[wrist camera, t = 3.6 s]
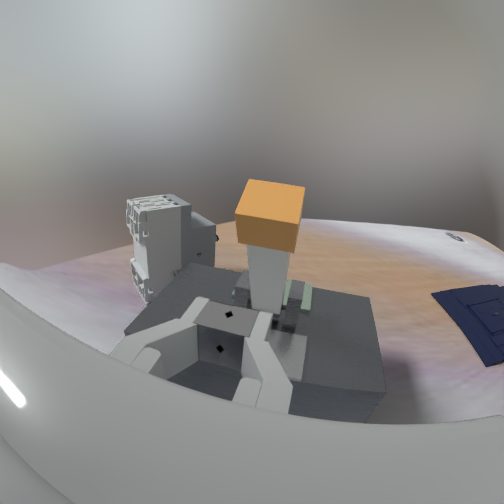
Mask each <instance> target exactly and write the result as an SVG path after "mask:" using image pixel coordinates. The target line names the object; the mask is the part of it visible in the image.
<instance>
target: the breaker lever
mask: <svg viewBox="0 0 504 504" xmlns="http://www.w3.org/2000/svg"><path fill="white" fill-rule="evenodd" d="M304 193H305V188H304V187H299V186H293V185H287V184H281V183H274V182H267V181H260V180H253V179H249V181H248V183H247V185H246V188H245V190H244V192H243V195H242V197H241V199H240V202H239V204H238V207H237V209H236V212H235V221H236V229H237V237H238V243H242V244H247V256H248V268H249V279H250V291H251V303H252V310H256V311H263V312H269V313H273V317H275V318H280V314H281V310H282V305H283V300H284V294H285V288H286V281H287V274H288V267H289V260H290V253H294V251H295V246H296V241H297V236H298V231H299V226H300V221H301V214H302V207H303V201H304Z"/></svg>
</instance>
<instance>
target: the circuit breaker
mask: <svg viewBox="0 0 504 504" xmlns="http://www.w3.org/2000/svg"><path fill="white" fill-rule="evenodd" d="M175 203H176V204H175ZM191 207H192V205H190V204H189V203H187V202H185V201H183V200H181V199H180V198H178V197H176V196H174V195H172V194H166V195H158V196H150V197H143V198H135V199H133V200H127V209H126V216H127V226H128V227H129V228H130V233H131V235H132V236H133V241H134V252H135V258H132V259H130V262H131V270H132V276H133V283H134V285H135V286H136V288H137V290H138V292H139V293H140V295H141V297H142V298H143V300H144V302H145V303H146V305H148V304H149V303H150V302H152V300H153V299H154V298H155V297H156V296H157V295H158V294H159V293H160V292H161V291H162V290H163V289H164V288H165V287H166V286H167V285H168V284H169V283H170V282H171V281H172V280H173V279H174V278H175V277H176V276H177V275H178V274H179V273H180V272H181V271H182V270H183V269H184V268H185V267H186V266H187V265H188V264H189V263H190V262H192V263H197V264H201V265H206V266H211V267H214V263H215V242H216V241H218V240H219V238H218V236H217V235H216V224H214V223H212V222H210V221H209V220H207V219H205V218H204V217H202V216H200V215H199V214H197V213H195V212H191V211H192V209H191ZM135 270H136V272H135Z"/></svg>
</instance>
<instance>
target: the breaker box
mask: <svg viewBox="0 0 504 504" xmlns="http://www.w3.org/2000/svg"><path fill="white" fill-rule="evenodd" d="M199 296H200V297H203V298H207V299H210V300H215V301H219V302H223V303H227V304H230V305H234V306H238V307H242V308H247V309H251V310H252V303H251V291H250V279H249V271H247V270H244V271H243V273H239V272H234V271H229V270H225V269H220V268H215V267H211V266H206V265H201V264H197V263H192V262H190V263H189V264H188V265H187V266H186V267H185V268H184V269H183V270H182V271H181V272H180V273H179V274H178V275H177V276H176V277H175V278H174V279H173V280H172V281H171V282H170V283H169V284H168V285H167V286H166V287H165V288H164V289H163V290H162V291H161V292H160V293H159V294H158V295H157V296H156V297H155V298H154V299H153V300H152V302H151V303H150V304H149V305H148V306H147V307H146V308H145V309H144V310H143V311H142V312H141V313H140V314H139V315H138V316H137V317H136V318H135V319H134V321H133V322H132V323H131V324H130V325H129V326H128V327H127V328H126V329H125V330H124V333H125V336H128V335H131V334H134V333H137V332H140V331H143V330H146V329H148V328H151V327H154V326H157V325H160V324H162V323H165V322H168V321H171V320H173V319H176V318H177V319H180V318H181V317H182V316H183V314H184V313H185V312H186V310H187V309H188V308H189V307H190V305H191V304H192V303H193V301H194V300H195V299H196V298H197V297H199ZM268 342H269V344H270V346H271V347H272V349H273V351H274V353H275V355H276V357H277V359H278V360H279V362H280V364H281V366H282V368H283V370H284V371H285V373H286V375H287V377H288V379H289V380H290V382H291V384H292V386H293V389H292V395H291V400H290V405H289V410H288V414H291V415H297V416H303V417H309V418H316V419H324V420H332V421H342V422H353V423H364V421H365V420H366V419H367V418H368V416H369V415H370V414H371V413H372V411H373V410H374V409H375V407H376V406H377V405H378V403H379V402H380V401H381V399H382V398H383V396H384V395H385V394H386V387H385V380H384V373H383V366H382V360H381V354H380V348H379V343H378V337H377V332H376V327H375V322H374V317H373V313H372V308H371V304H370V299H369V298H368V297H363V296H357V295H352V294H346V293H341V292H335V291H330V290H324V289H319V288H314V287H312V285H310V284H305V282H302V281H297V280H292V281H290V280H287V281H286V288H285V294H284V300H283V305H282V310H281V314H280V318H275V317H273V319H272V325H271V330H270V335H269V340H268ZM241 379H242V374H241V371H238V370H234V369H231V368H228V367H224V366H221V365H217V364H213V363H210V362H206V361H202V360H198V361H197V362H195V363H194V364H192V365H191V366H189V367H187V368H186V369H184V370H182V371H181V372H179V373H177V374H175V375H174V376H172V377H170V378H169V379H167V381H170V382H172V383H175V384H178V385H181V386H184V387H187V388H190V389H193V390H196V391H199V392H202V393H205V394H208V395H211V396H215V397H218V398H222V399H225V400H229V401H232V400H233V397H234V395H235V392H236V390H237V387H238V385H239V382H240V380H241Z"/></svg>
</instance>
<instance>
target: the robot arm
mask: <svg viewBox="0 0 504 504" xmlns="http://www.w3.org/2000/svg"><path fill="white" fill-rule="evenodd" d="M272 319H273V313H269V312H263V311H256V310H251V309H247V308H242V307H238V306H234V305H230V304H227V303H223V302H219V301H215V300H210V299H207V298H203V297H200V296H199V297H197V298H196V299H195V300H194V301H193V303H192V304H191V305H190V307H189V308H188V309H187V310H186V312H185V313H184V314H183V316H182V317H181V318H180V319H177V318H176V319H173V320H171V321H168V322H165V323H162V324H160V325H157V326H154V327H151V328H148V329H146V330H143V331H140V332H137V333H134V334H131V335H128V336H125V337H124V338H123V340H122V341H121V342H120V343H119V344H118V345H117V346H116V347H115V348H114V350H113V351H112V352H111V353H110V354H109V355H107V354H105V353H103V352H101V351H99V350H97V349H95V348H93V347H91V346H89V345H87V344H85V343H84V342H82V341H80V340H78V339H76V338H75V337H73V336H71V335H69V334H68V333H66V332H64V331H62V330H61V329H59V328H57V327H56V326H54V325H53V324H51V323H49V322H48V321H46V320H45V319H43V318H42V317H40V316H38V315H37V314H35V313H34V312H32V311H31V310H30V309H28V308H27V307H25V306H24V305H22V304H21V303H20V302H18V301H17V300H15V299H14V298H13V297H11V296H10V295H9V294H7V293H6V292H5V291H4V290H2V289H1V288H0V504H504V416H502V415H496V416H490V417H485V418H479V419H472V420H464V421H456V422H445V423H431V424H368V423H353V422H342V421H332V420H324V419H316V418H309V417H303V416H297V415H291V414H288V410H289V405H290V400H291V395H292V389H293V386H292V384H291V382H290V380H289V379H288V377H287V375H286V373H285V371H284V370H283V368H282V366H281V364H280V362H279V360H278V359H277V357H276V355H275V353H274V351H273V349H272V347H271V346H270V344H269V342H268V340H269V335H270V330H271V325H272ZM198 360H202V361H206V362H210V363H213V364H217V365H221V366H224V367H228V368H231V369H234V370H238V371H241V374H242V379H241V380H240V382H239V385H238V387H237V390H236V392H235V395H234V397H233V400H232V401H229V400H225V399H222V398H218V397H215V396H211V395H208V394H205V393H202V392H199V391H196V390H193V389H190V388H187V387H184V386H181V385H178V384H175V383H172V382H170V381H167V379H169V378H170V377H172V376H174V375H175V374H177V373H179V372H181V371H182V370H184V369H186V368H187V367H189V366H191V365H192V364H194V363H195V362H197V361H198Z"/></svg>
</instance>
